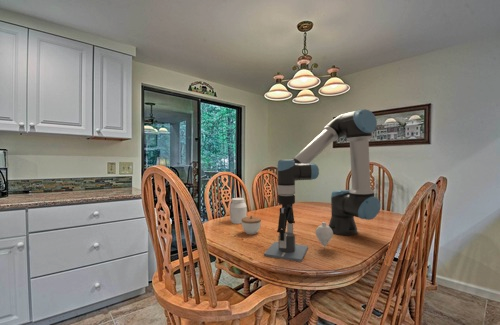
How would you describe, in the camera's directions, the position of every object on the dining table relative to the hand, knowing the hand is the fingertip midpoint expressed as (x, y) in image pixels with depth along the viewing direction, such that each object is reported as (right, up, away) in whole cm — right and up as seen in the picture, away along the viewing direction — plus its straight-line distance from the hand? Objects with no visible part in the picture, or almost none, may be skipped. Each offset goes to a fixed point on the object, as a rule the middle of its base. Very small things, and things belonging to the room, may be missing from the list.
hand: (286, 242), depth 107 cm
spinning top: (+18, -4, +4) cm, 19 cm away
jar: (-24, -4, +52) cm, 57 cm away
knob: (0, -3, 0) cm, 3 cm away
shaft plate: (0, -4, 0) cm, 4 cm away
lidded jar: (-15, -4, +28) cm, 32 cm away
